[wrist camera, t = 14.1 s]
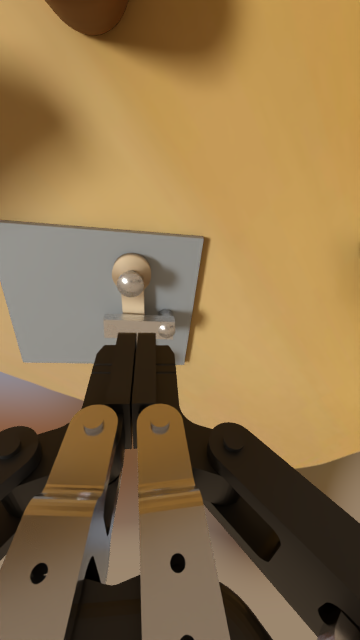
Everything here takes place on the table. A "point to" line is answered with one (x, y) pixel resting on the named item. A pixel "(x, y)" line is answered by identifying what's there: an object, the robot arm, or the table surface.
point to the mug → (89, 14)
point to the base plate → (89, 286)
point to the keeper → (160, 324)
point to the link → (143, 269)
